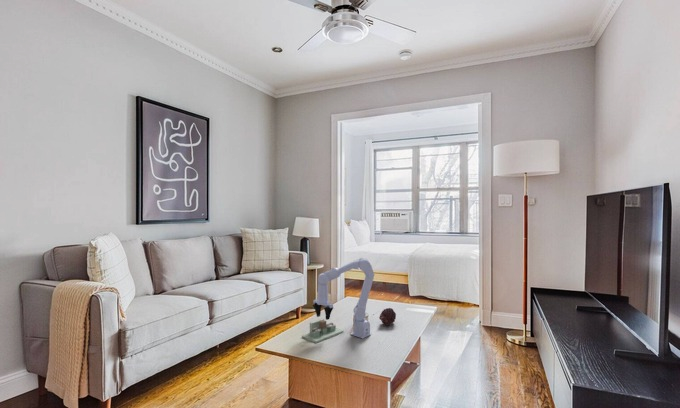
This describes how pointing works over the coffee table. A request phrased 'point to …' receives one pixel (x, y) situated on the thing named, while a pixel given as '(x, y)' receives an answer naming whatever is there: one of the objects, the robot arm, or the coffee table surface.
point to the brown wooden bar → (322, 326)
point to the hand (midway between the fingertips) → (323, 317)
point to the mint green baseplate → (321, 332)
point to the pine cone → (388, 316)
